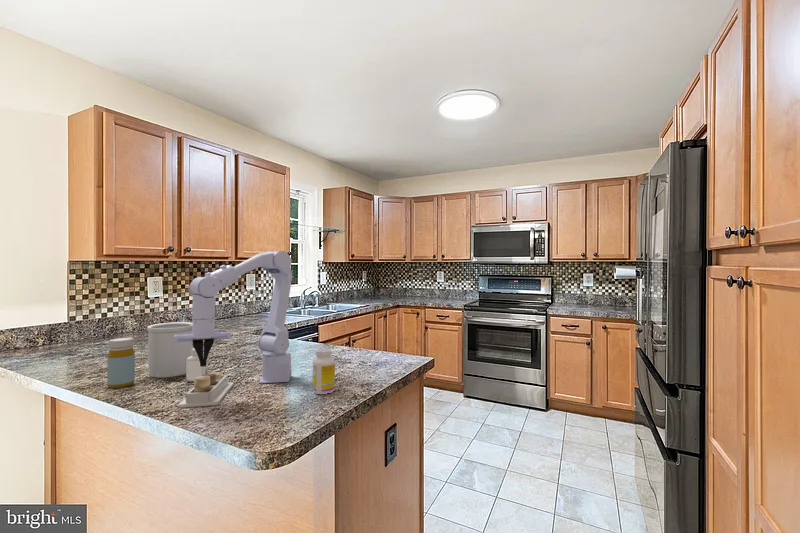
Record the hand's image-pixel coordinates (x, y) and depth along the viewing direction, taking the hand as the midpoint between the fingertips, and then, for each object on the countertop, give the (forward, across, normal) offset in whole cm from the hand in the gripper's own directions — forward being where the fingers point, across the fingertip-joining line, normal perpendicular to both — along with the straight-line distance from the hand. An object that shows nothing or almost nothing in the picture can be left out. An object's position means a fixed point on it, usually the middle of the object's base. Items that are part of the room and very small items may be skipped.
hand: (203, 365), depth 104 cm
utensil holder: (+10, +12, -37) cm, 41 cm away
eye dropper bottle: (+10, +4, -23) cm, 25 cm away
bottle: (+10, +25, -27) cm, 38 cm away
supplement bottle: (+10, -33, +8) cm, 36 cm away
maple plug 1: (+7, 0, +1) cm, 7 cm away
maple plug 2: (+9, -2, -10) cm, 13 cm away
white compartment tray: (+10, -1, -4) cm, 11 cm away
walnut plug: (+8, -1, -4) cm, 9 cm away
